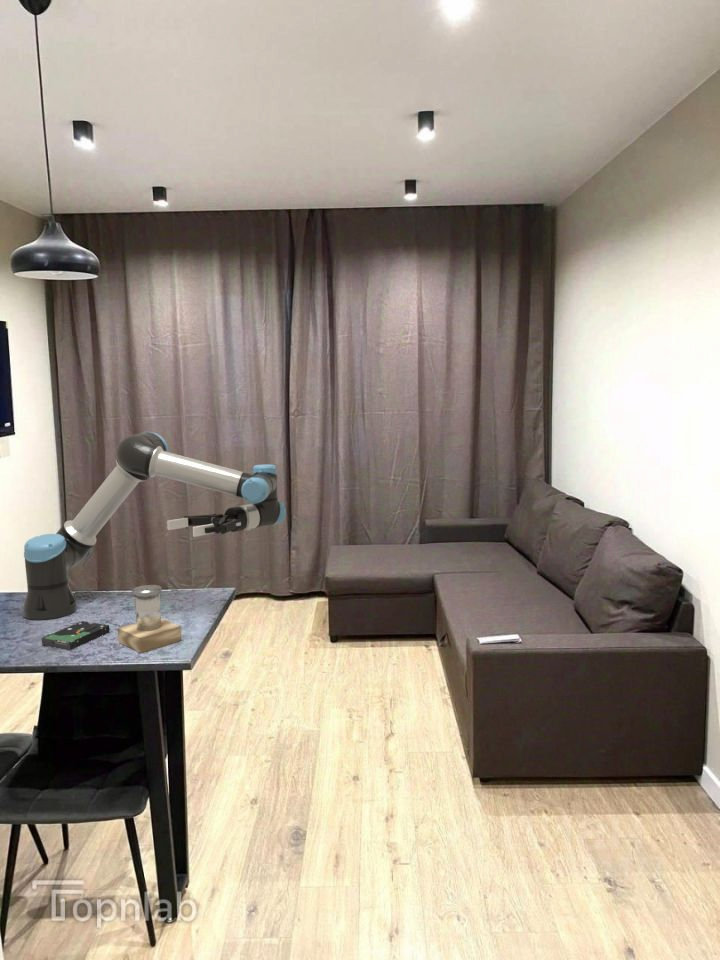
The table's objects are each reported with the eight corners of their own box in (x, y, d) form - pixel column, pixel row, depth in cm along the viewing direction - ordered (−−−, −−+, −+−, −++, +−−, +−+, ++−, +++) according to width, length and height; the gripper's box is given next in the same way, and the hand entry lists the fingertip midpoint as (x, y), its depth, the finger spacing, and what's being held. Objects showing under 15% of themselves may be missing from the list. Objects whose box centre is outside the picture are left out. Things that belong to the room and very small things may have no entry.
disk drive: (82, 630, 206) (41, 647, 193) (81, 620, 206) (40, 637, 192) (110, 634, 202) (70, 652, 188) (110, 624, 202) (69, 641, 188)
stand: (118, 642, 194) (117, 627, 193) (158, 630, 202) (157, 616, 202) (141, 653, 185) (140, 638, 185) (181, 640, 194) (180, 626, 193)
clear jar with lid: (129, 627, 193) (126, 589, 192) (154, 620, 199) (151, 583, 197) (144, 633, 188) (141, 594, 187) (169, 626, 194) (166, 588, 192)
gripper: (266, 536, 212) (205, 548, 197) (218, 524, 229) (158, 535, 214) (266, 511, 211) (204, 521, 196) (217, 501, 228) (157, 510, 213)
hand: (180, 528), depth 205 cm, fingers open, 13 cm apart
